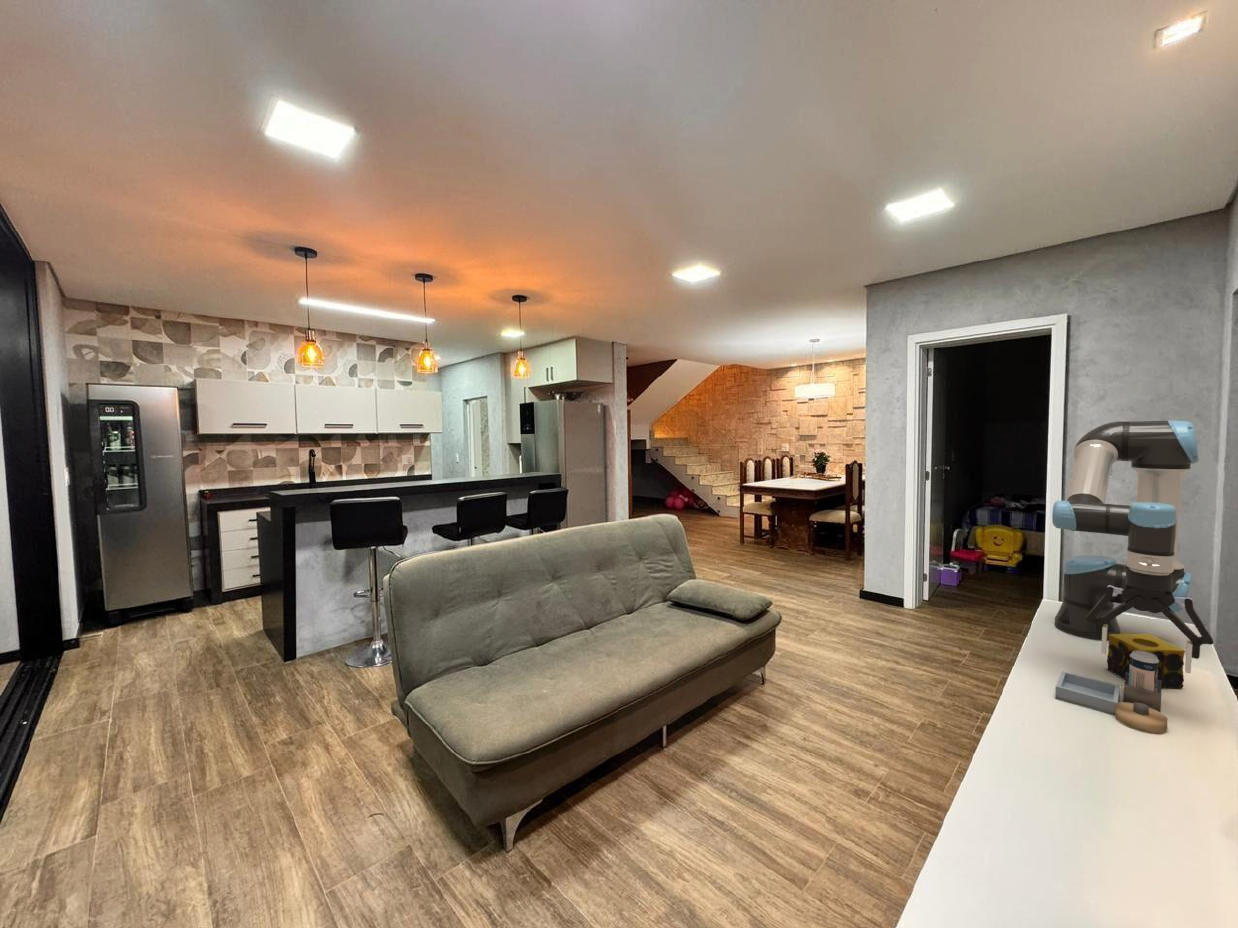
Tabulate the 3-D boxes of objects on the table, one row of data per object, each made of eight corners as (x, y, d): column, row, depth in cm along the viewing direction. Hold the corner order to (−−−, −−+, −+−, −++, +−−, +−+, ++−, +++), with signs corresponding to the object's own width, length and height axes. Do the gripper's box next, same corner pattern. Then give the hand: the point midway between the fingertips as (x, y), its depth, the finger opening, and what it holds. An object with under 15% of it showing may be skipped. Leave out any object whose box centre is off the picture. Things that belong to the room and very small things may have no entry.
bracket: (1124, 691, 126) (1125, 671, 125) (1160, 700, 121) (1161, 680, 121) (1122, 706, 119) (1123, 686, 119) (1160, 717, 115) (1161, 695, 114)
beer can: (1162, 710, 117) (1165, 659, 116) (1137, 708, 118) (1140, 658, 117) (1145, 699, 122) (1148, 650, 121) (1121, 697, 123) (1124, 648, 122)
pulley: (1116, 708, 119) (1116, 691, 118) (1166, 722, 113) (1167, 704, 113) (1113, 723, 113) (1114, 705, 113) (1167, 738, 107) (1168, 720, 107)
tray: (1061, 682, 131) (1061, 670, 131) (1119, 697, 123) (1120, 685, 123) (1055, 698, 124) (1055, 686, 123) (1116, 715, 116) (1117, 702, 116)
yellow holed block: (1147, 669, 136) (1149, 633, 135) (1185, 689, 126) (1187, 650, 125) (1105, 669, 137) (1106, 632, 136) (1139, 688, 127) (1141, 649, 126)
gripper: (1074, 564, 124) (1070, 650, 126) (1235, 586, 106) (1228, 685, 108) (1078, 558, 129) (1074, 640, 131) (1232, 578, 111) (1225, 673, 113)
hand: (1144, 661), depth 119 cm, fingers open, 13 cm apart
